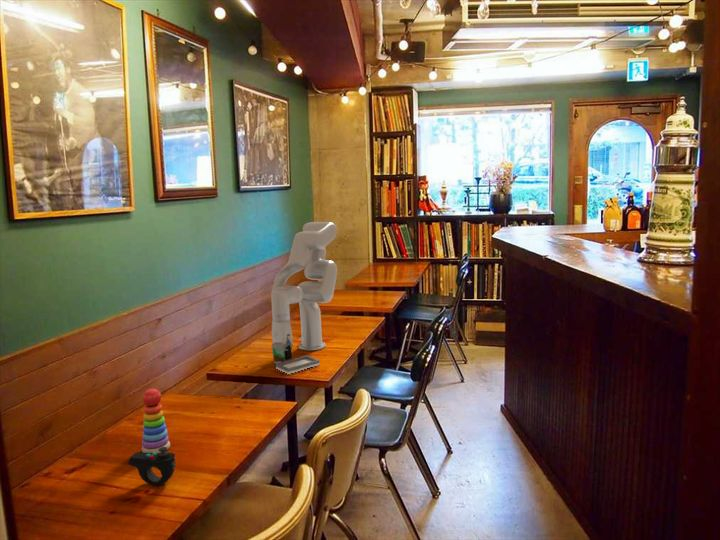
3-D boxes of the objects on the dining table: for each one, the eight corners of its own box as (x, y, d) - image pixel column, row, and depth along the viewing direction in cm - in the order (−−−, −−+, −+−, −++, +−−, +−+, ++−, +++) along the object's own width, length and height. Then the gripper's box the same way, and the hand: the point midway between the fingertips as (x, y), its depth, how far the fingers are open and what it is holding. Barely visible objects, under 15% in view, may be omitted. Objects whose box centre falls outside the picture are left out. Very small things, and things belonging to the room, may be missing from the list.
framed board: (276, 369, 231) (275, 363, 231) (307, 360, 241) (306, 355, 241) (288, 374, 224) (288, 369, 224) (319, 365, 234) (319, 360, 233)
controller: (172, 489, 142) (168, 453, 140) (128, 486, 144) (124, 450, 142) (180, 480, 146) (176, 445, 144) (138, 477, 148) (134, 443, 146)
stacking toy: (166, 455, 160) (160, 394, 157) (138, 457, 160) (131, 396, 157) (173, 442, 168) (167, 384, 165) (146, 444, 167) (140, 386, 164)
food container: (285, 367, 233) (284, 344, 232) (272, 366, 236) (271, 343, 234) (298, 358, 245) (297, 336, 243) (286, 357, 247) (284, 335, 245)
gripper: (263, 315, 242) (266, 354, 245) (284, 322, 229) (287, 363, 231) (278, 312, 247) (280, 351, 249) (299, 319, 233) (301, 359, 236)
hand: (283, 356), depth 240 cm, fingers closed on food container, 6 cm apart
